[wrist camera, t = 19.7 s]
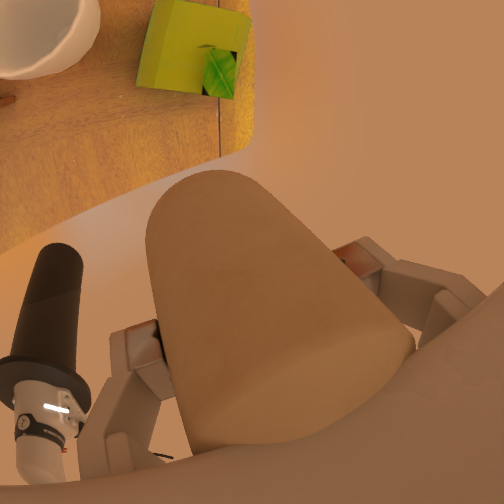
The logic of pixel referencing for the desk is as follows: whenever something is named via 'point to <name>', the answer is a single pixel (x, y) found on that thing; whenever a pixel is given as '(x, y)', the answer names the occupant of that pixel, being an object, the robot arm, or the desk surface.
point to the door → (6, 101)
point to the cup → (45, 35)
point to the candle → (260, 317)
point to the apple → (193, 48)
